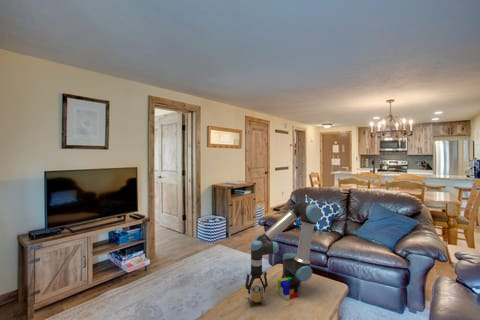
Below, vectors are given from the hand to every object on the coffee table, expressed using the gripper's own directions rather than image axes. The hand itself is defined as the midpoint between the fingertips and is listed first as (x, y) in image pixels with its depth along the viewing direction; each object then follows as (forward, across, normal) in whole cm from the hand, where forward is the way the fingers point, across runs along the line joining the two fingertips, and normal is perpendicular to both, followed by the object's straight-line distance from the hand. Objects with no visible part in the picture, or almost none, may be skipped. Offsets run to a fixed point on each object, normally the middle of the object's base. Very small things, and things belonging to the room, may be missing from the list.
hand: (256, 297), depth 168 cm
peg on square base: (+3, 0, 0) cm, 3 cm away
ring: (0, 0, 0) cm, 0 cm away
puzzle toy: (+4, +24, +4) cm, 25 cm away
